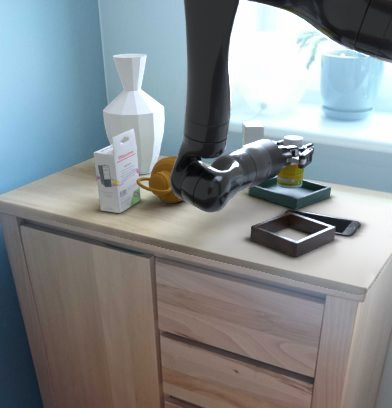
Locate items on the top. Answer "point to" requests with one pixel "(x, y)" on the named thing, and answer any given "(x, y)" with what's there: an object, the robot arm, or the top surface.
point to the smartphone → (333, 222)
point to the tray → (291, 193)
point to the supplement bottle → (291, 167)
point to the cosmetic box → (252, 132)
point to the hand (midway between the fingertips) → (298, 146)
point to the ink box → (118, 174)
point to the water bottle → (161, 180)
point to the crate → (294, 248)
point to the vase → (135, 112)
